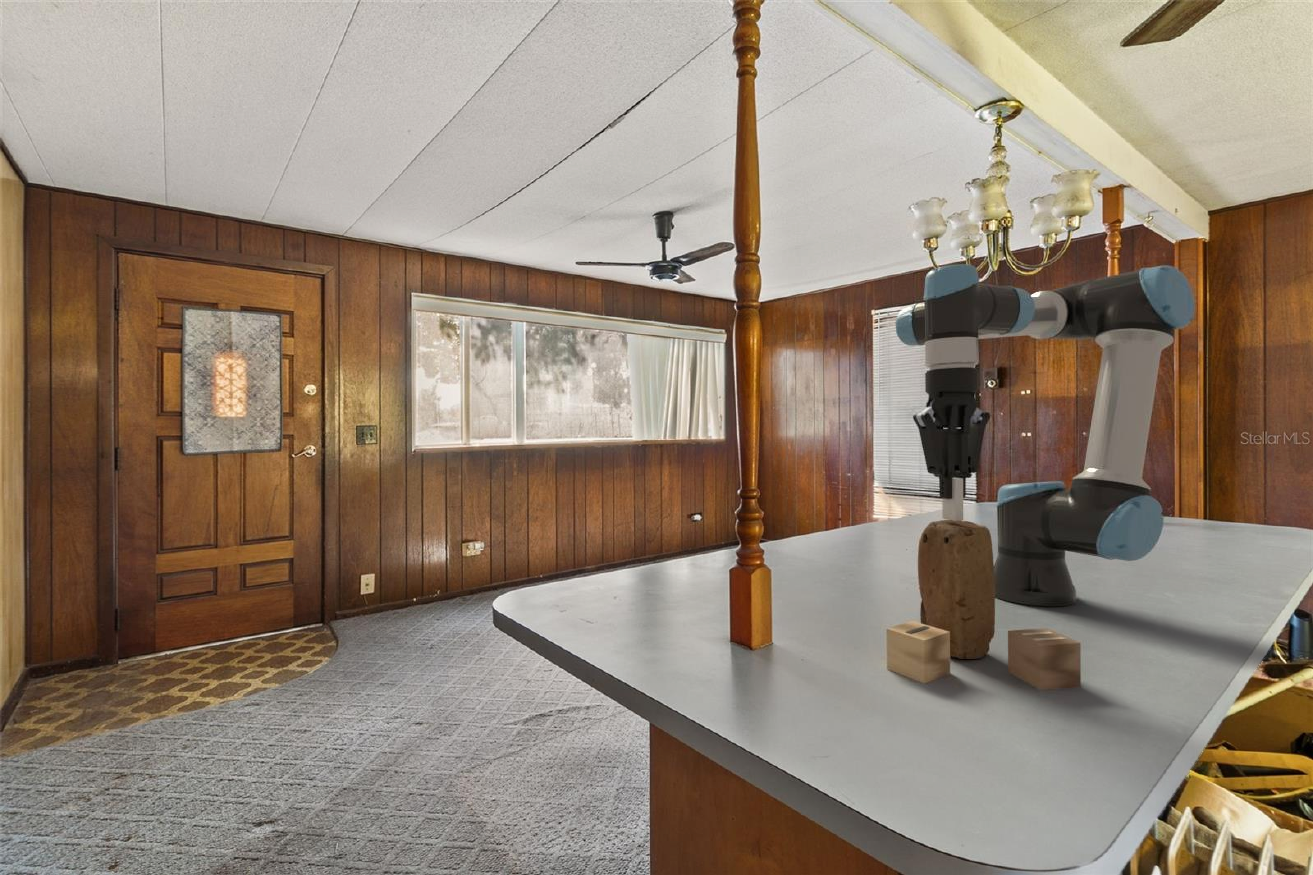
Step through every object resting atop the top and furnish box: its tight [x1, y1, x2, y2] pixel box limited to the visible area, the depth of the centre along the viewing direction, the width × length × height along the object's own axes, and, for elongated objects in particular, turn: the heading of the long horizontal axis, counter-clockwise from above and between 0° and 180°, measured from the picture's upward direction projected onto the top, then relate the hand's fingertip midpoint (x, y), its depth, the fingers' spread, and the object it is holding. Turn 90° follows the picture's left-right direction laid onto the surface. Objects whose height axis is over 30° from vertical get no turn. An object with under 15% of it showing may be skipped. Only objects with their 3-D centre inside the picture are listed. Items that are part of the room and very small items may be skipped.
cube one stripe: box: [886, 620, 951, 684], centre depth 88 cm, size 6×6×6 cm
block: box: [917, 519, 996, 660], centre depth 96 cm, size 11×8×20 cm
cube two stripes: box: [1007, 627, 1082, 691], centre depth 84 cm, size 6×6×6 cm
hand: (952, 519), depth 95 cm, fingers closed
